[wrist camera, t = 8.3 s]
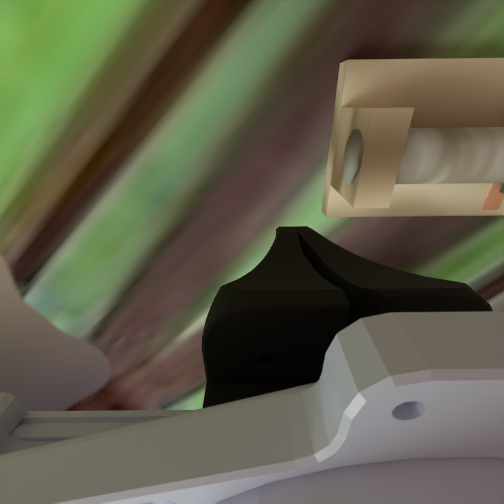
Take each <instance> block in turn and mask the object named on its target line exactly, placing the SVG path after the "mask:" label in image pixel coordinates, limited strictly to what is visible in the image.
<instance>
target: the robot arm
mask: <svg viewBox="0 0 504 504" xmlns="http://www.w3.org/2000/svg"><path fill="white" fill-rule="evenodd" d="M202 353H203V360H204V366H205V373H206V380H207V384H206V390H205V396H204V402H203V408H202V409H198V410H142V411H41V412H26V409H25V407H24V405H23V403H22V402H21V400H20V399H19V398H18V397H16V396H15V395H13V394H10V393H7V392H0V504H504V311H493V310H492V308H491V306H490V304H488V303H487V302H486V301H485V300H484V299H483V298H482V297H480V296H479V295H478V294H477V293H476V292H475V291H474V290H472V289H471V288H470V287H469V286H468V285H467V284H465V283H460V282H454V281H448V280H442V279H436V278H430V277H425V276H421V275H416V274H412V273H408V272H404V271H400V270H396V269H393V268H390V267H387V266H384V265H380V264H377V263H375V262H372V261H369V260H367V259H365V258H362V257H360V256H358V255H355V254H353V253H351V252H349V251H347V250H345V249H343V248H342V247H340V246H338V245H336V244H335V243H333V242H331V241H330V240H328V239H326V238H325V237H323V236H322V235H320V234H319V233H317V232H316V231H314V230H312V229H311V228H309V227H307V226H298V227H278V228H277V229H276V238H275V240H274V243H273V245H272V247H271V248H270V250H269V252H268V253H267V255H266V256H265V257H264V259H263V260H262V261H261V262H260V263H259V264H258V265H257V266H256V267H255V268H254V269H253V270H252V271H250V272H249V273H247V274H246V275H244V276H243V277H241V278H239V279H237V280H235V281H232V282H230V283H228V284H226V285H223V286H221V287H220V289H219V291H218V293H217V295H216V297H215V299H214V301H213V303H212V305H211V307H210V310H209V313H208V315H207V318H206V322H205V326H204V331H203V336H202Z"/></svg>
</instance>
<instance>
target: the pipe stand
mask: <svg viewBox="0 0 504 504" xmlns="http://www.w3.org/2000/svg"><path fill="white" fill-rule="evenodd" d="M503 183H504V58H446V59H366V60H346V61H344V62H342V63H340V68H339V76H338V84H337V92H336V100H335V108H334V116H333V124H332V132H331V140H330V148H329V156H328V164H327V172H326V180H325V188H324V196H323V204H322V212H323V213H324V215H325V216H326V217H379V216H477V215H504V194H503V193H500V192H499V191H500V189H501V187H502V184H503Z"/></svg>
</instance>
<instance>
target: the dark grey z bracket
mask: <svg viewBox="0 0 504 504" xmlns="http://www.w3.org/2000/svg"><path fill="white" fill-rule="evenodd" d="M499 192H500V193H503V194H504V183H503V184H502V187H501V189H500V191H499Z"/></svg>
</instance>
